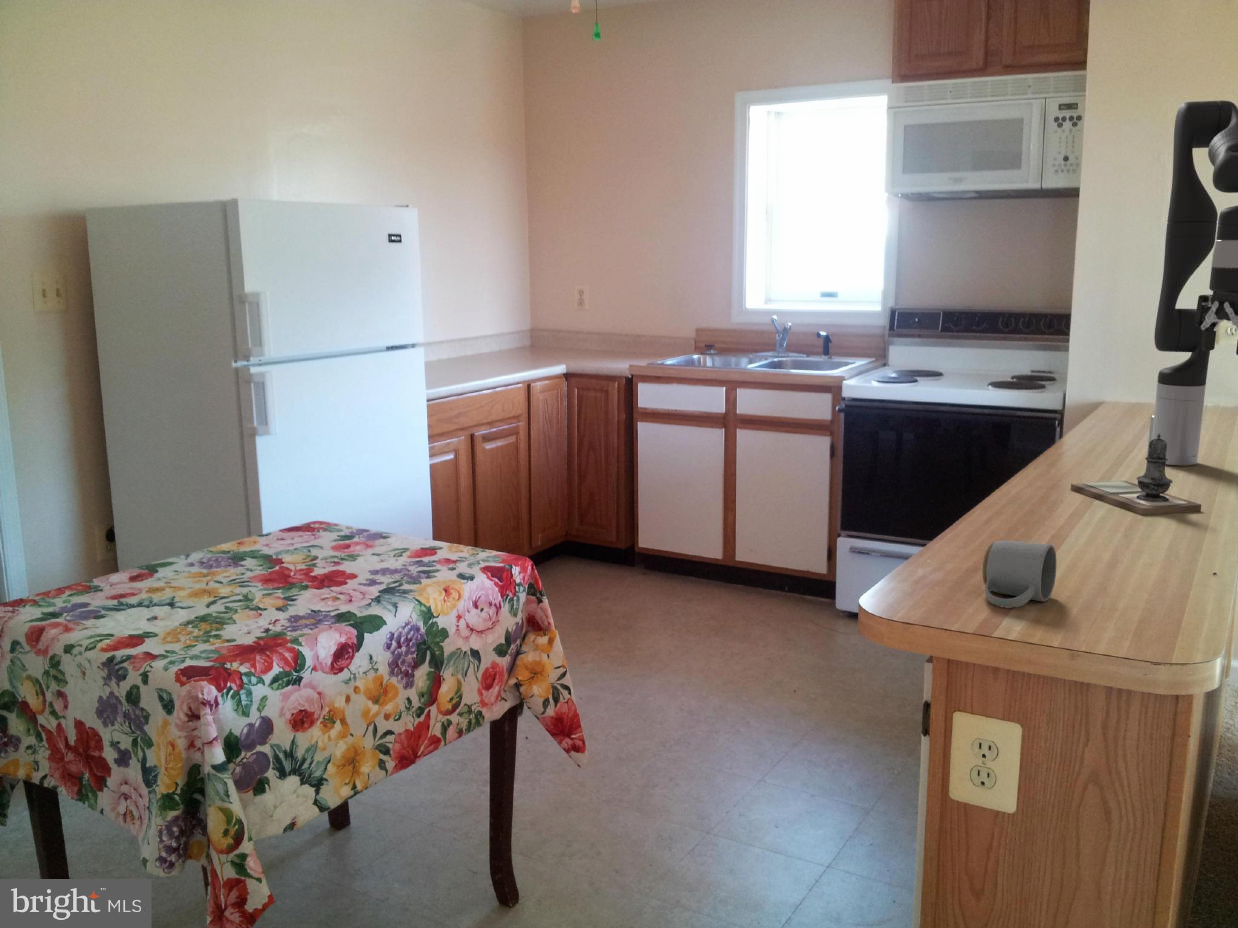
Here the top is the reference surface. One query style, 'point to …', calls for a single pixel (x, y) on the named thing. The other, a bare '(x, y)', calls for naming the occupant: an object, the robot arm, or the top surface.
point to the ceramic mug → (1019, 572)
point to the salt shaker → (1155, 473)
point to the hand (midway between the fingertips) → (1224, 352)
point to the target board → (1133, 498)
